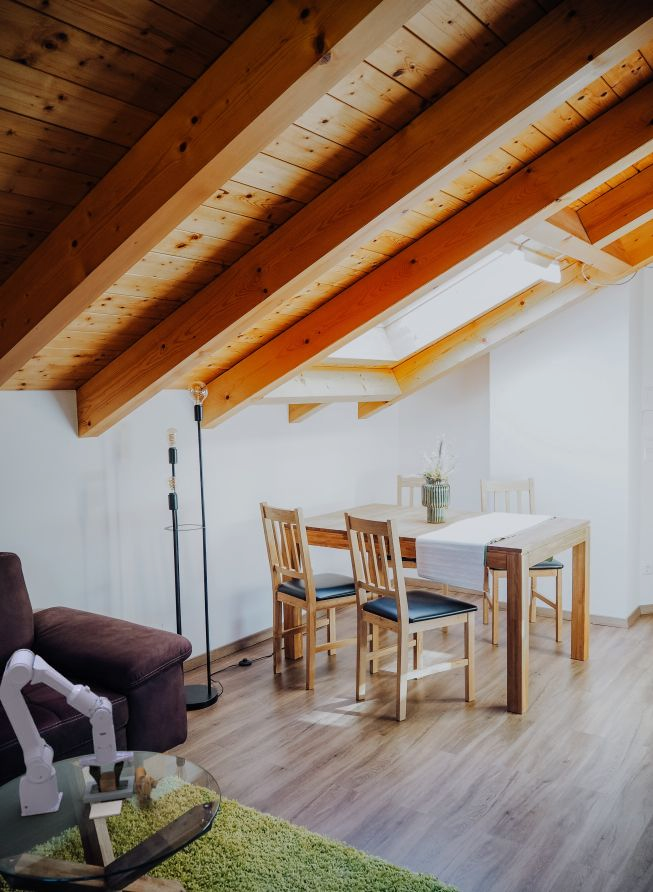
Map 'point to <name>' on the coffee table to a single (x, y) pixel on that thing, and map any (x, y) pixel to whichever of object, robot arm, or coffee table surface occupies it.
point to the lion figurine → (143, 784)
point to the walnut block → (108, 781)
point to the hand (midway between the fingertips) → (109, 787)
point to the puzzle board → (111, 794)
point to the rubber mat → (105, 809)
